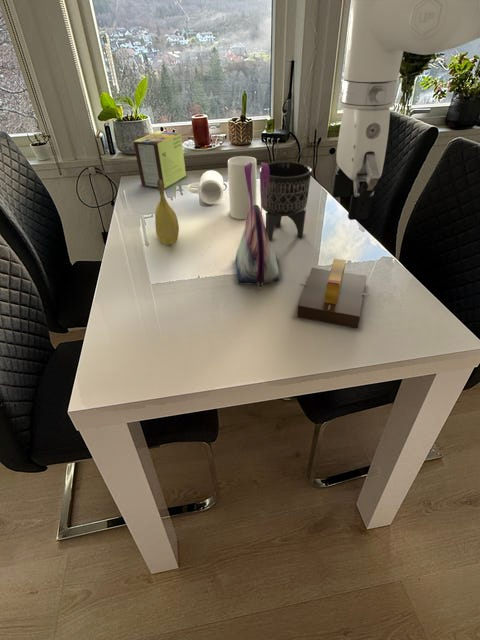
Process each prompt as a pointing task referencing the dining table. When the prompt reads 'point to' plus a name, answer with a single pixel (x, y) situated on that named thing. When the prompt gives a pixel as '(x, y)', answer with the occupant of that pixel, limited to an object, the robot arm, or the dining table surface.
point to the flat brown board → (338, 313)
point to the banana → (165, 219)
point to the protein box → (160, 158)
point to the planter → (286, 194)
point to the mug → (209, 187)
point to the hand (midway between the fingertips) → (348, 206)
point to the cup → (241, 186)
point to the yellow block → (335, 281)
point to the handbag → (256, 241)
